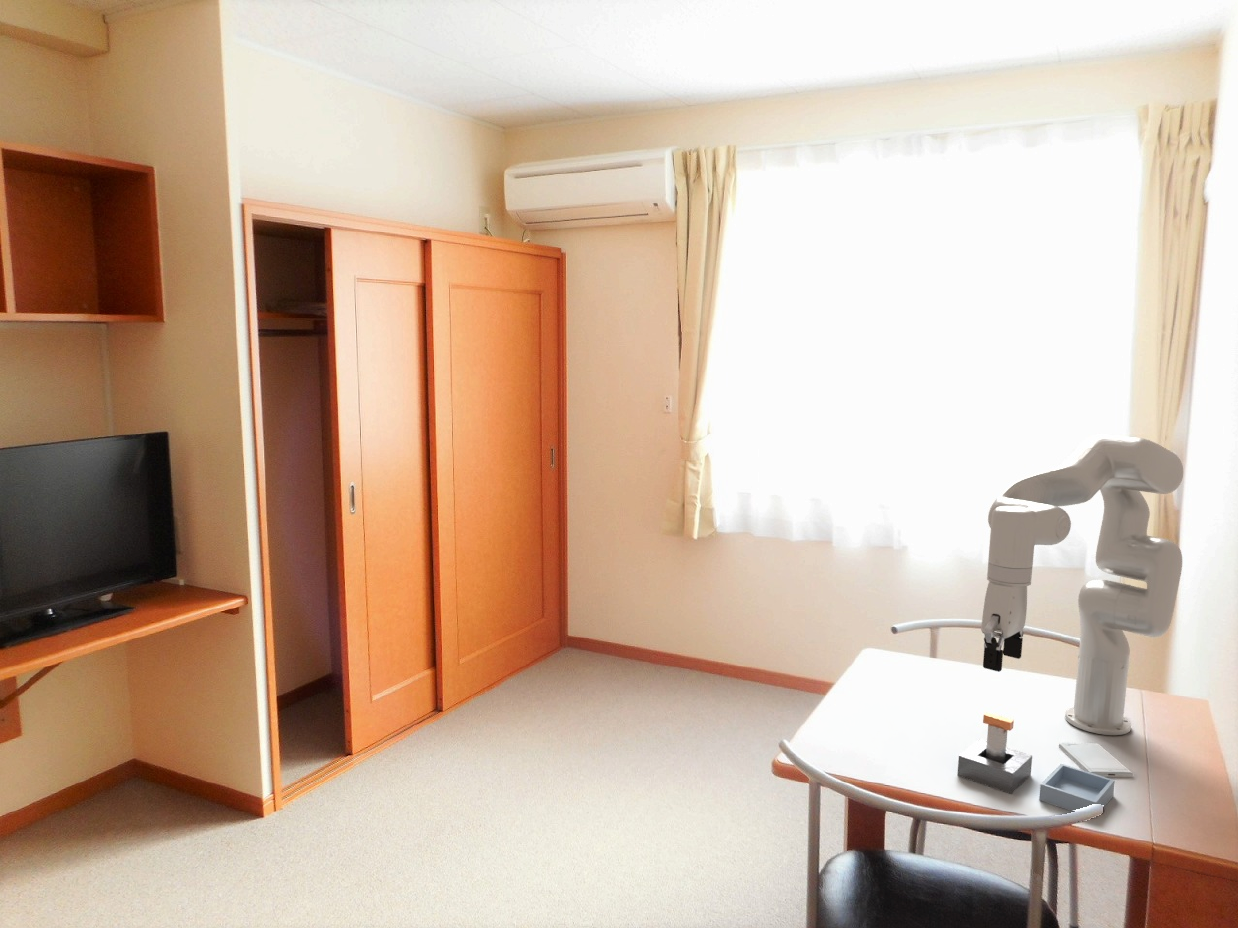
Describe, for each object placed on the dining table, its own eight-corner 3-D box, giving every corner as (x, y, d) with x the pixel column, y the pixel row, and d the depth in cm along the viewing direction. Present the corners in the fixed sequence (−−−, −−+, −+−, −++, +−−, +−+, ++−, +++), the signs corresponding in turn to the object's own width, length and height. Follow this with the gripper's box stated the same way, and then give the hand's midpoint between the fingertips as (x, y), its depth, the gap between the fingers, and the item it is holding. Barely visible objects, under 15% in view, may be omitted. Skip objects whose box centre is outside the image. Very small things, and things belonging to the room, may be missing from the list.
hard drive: (1058, 742, 184) (1090, 770, 172) (1099, 742, 184) (1133, 771, 172) (1058, 750, 184) (1089, 779, 172) (1098, 750, 184) (1132, 779, 172)
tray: (1059, 778, 171) (1061, 763, 171) (1113, 795, 165) (1114, 780, 164) (1039, 799, 163) (1040, 784, 162) (1094, 818, 157) (1096, 802, 156)
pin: (984, 767, 175) (988, 710, 173) (1010, 776, 171) (1015, 718, 170) (977, 773, 172) (981, 716, 171) (1004, 782, 169) (1008, 723, 167)
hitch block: (978, 758, 179) (979, 738, 178) (1030, 775, 172) (1032, 755, 172) (957, 775, 172) (958, 755, 171) (1011, 793, 165) (1012, 773, 164)
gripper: (1006, 562, 175) (999, 647, 178) (970, 577, 163) (963, 669, 165) (1046, 569, 170) (1039, 657, 172) (1012, 586, 158) (1005, 680, 160)
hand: (1002, 662), depth 169 cm, fingers open, 9 cm apart
